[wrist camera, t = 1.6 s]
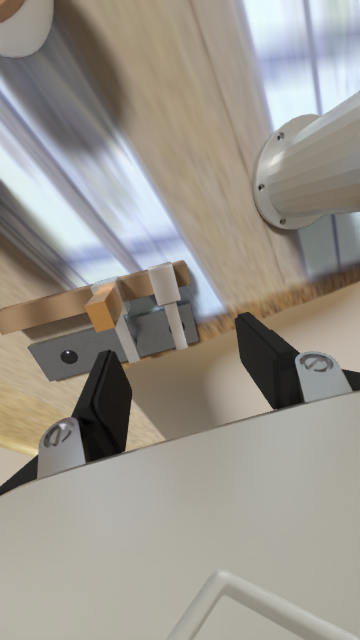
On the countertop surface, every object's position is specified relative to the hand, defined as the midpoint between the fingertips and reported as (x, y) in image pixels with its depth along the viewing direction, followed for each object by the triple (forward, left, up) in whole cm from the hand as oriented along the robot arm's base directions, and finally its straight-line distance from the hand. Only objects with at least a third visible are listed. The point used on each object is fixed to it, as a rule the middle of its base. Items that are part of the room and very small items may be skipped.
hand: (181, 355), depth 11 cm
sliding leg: (+7, +4, -20) cm, 22 cm away
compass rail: (+10, +4, -22) cm, 24 cm away
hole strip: (+10, +9, -22) cm, 25 cm away
